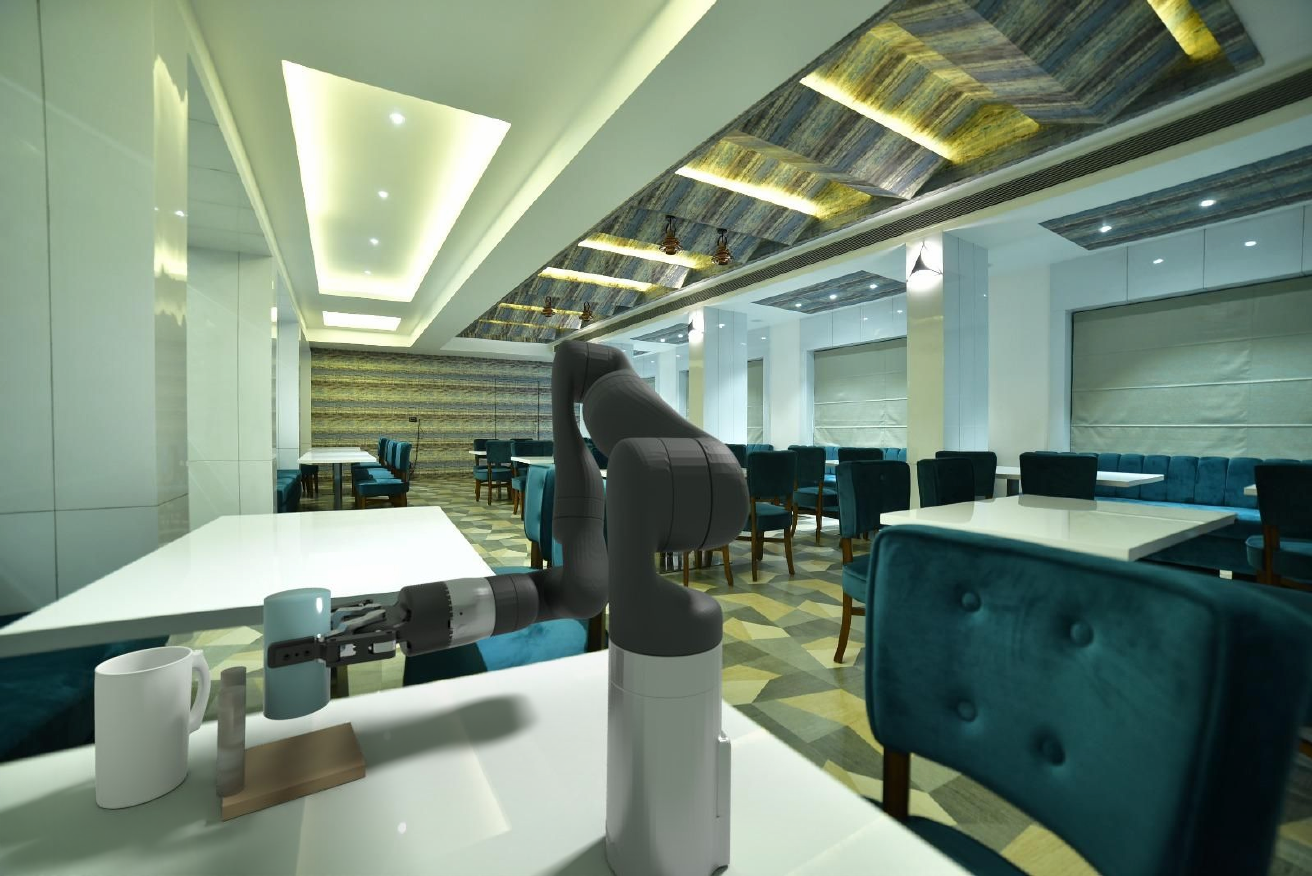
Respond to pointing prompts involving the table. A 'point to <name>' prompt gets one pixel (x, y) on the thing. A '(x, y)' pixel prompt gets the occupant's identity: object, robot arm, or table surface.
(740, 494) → the robot arm
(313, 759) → the board
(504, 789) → the table surface
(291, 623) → the pale blue cylinder
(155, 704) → the mug
